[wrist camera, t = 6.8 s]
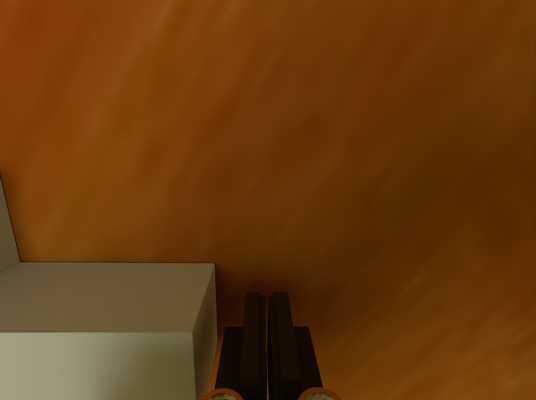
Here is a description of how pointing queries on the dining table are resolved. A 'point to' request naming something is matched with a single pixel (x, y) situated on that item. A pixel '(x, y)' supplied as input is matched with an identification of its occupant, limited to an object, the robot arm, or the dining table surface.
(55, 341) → the t block
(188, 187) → the dining table surface
